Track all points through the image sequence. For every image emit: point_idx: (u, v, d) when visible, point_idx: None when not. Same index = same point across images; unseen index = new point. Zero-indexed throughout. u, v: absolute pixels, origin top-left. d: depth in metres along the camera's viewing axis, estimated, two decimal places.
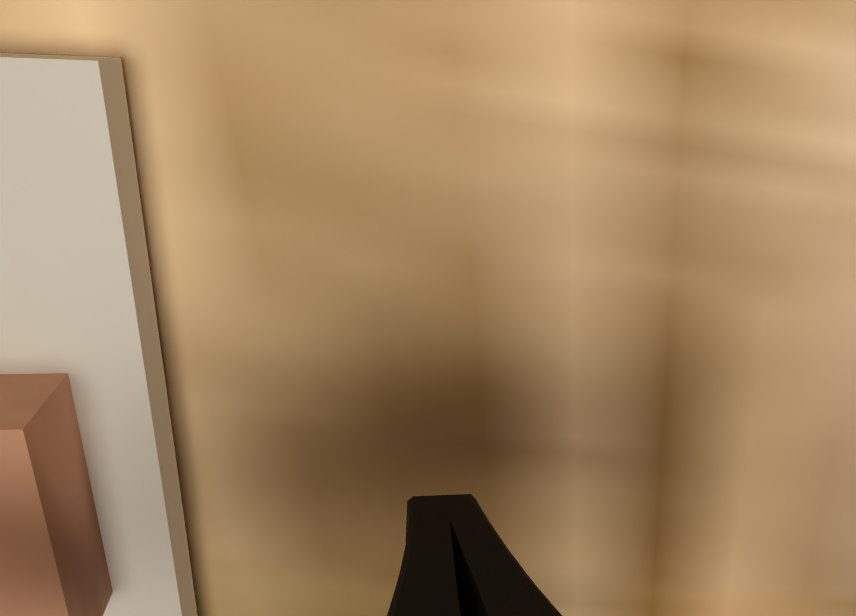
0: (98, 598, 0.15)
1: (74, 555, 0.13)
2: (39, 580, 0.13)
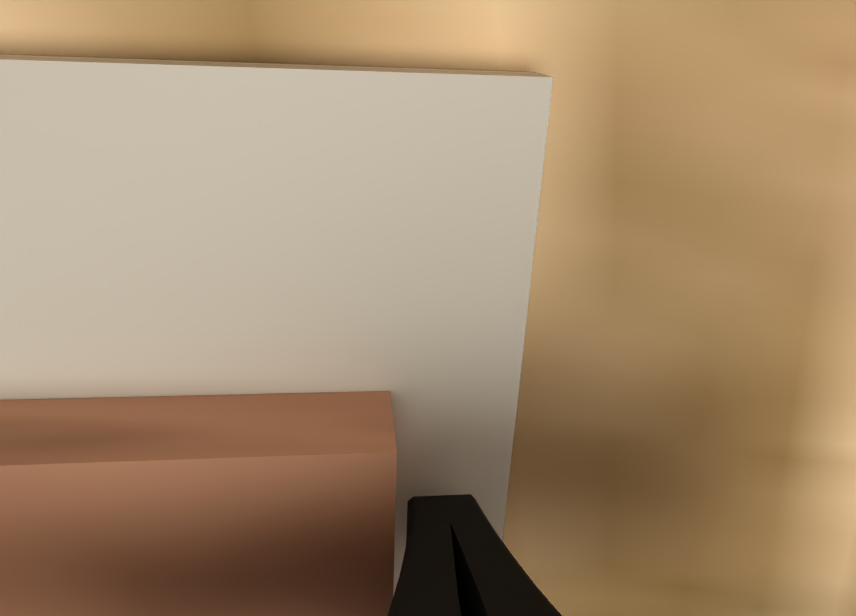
0: None
1: None
2: (374, 602, 0.12)
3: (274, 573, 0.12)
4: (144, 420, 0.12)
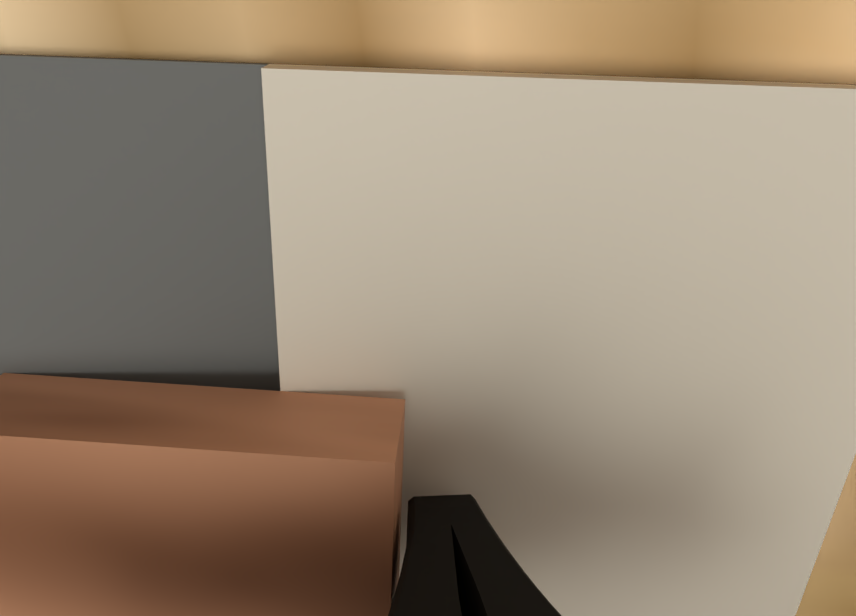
0: None
1: (393, 588, 0.13)
2: (371, 613, 0.12)
3: (273, 571, 0.12)
4: (161, 406, 0.12)
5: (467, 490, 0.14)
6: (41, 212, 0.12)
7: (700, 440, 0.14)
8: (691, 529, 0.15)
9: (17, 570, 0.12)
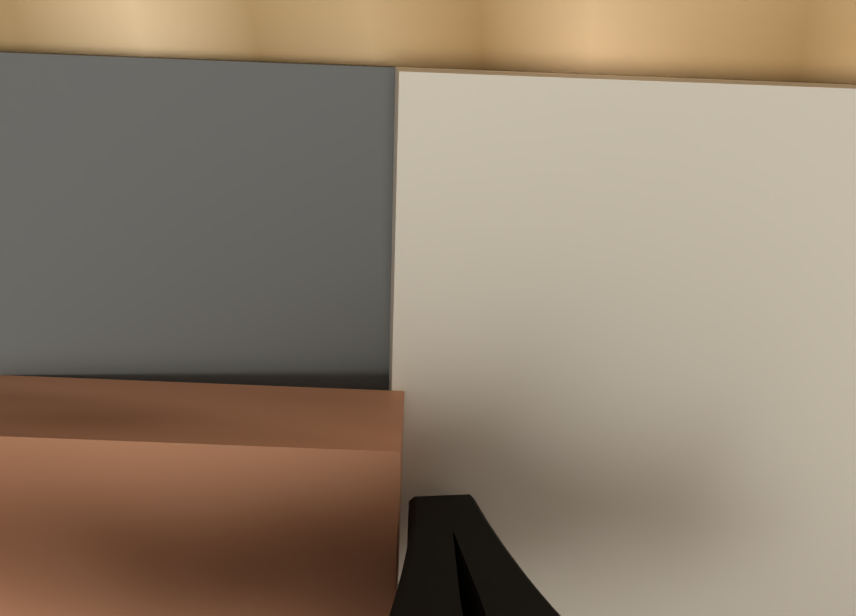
0: None
1: None
2: (376, 600, 0.12)
3: (279, 562, 0.12)
4: (164, 403, 0.12)
5: (563, 486, 0.14)
6: (167, 212, 0.12)
7: (791, 437, 0.15)
8: (776, 525, 0.16)
9: (21, 571, 0.12)
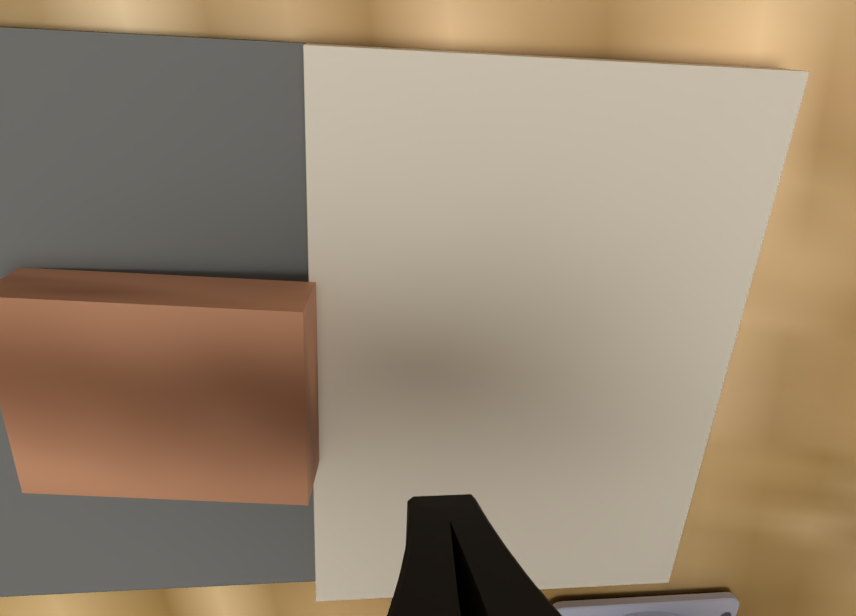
0: (315, 460, 0.19)
1: (310, 419, 0.18)
2: (292, 430, 0.17)
3: (221, 399, 0.17)
4: (139, 284, 0.17)
5: (443, 363, 0.19)
6: (143, 145, 0.17)
7: (616, 329, 0.19)
8: (613, 401, 0.20)
9: (34, 405, 0.17)
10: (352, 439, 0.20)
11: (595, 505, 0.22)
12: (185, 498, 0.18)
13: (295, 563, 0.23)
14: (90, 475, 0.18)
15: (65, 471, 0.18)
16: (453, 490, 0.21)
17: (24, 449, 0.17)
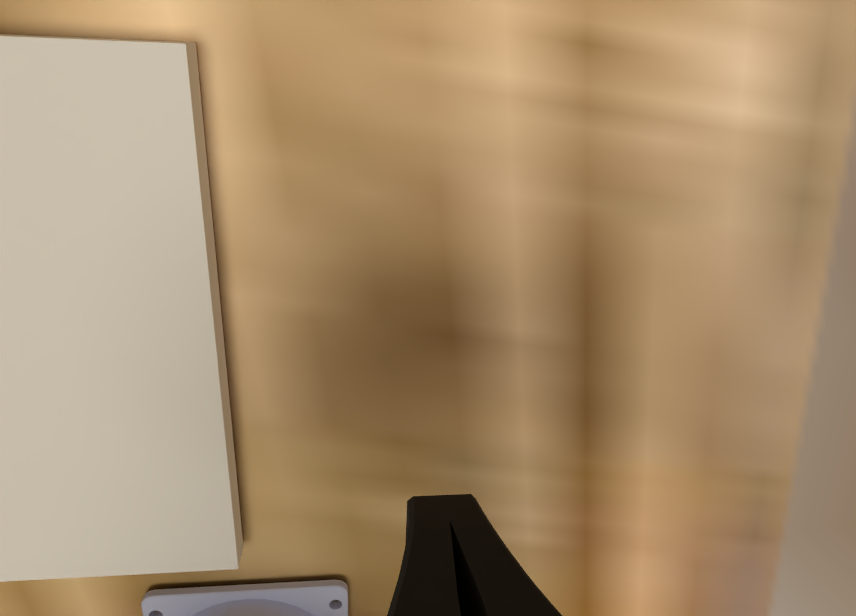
0: None
1: None
2: None
3: None
4: None
5: None
6: None
7: (75, 309, 0.19)
8: (101, 384, 0.20)
9: None
10: None
11: (124, 490, 0.22)
12: None
13: None
14: None
15: None
16: None
17: None
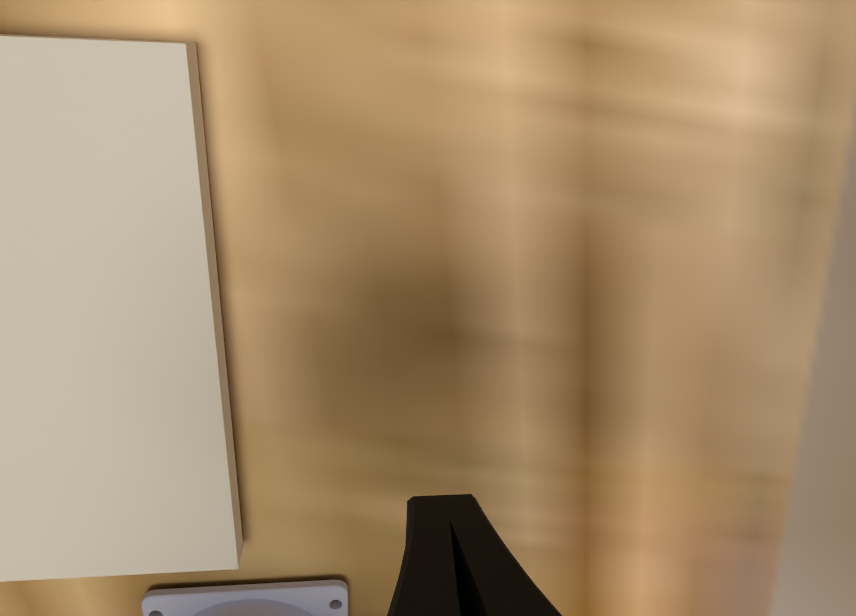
0: None
1: None
2: None
3: None
4: None
5: None
6: None
7: (75, 309, 0.19)
8: (101, 384, 0.20)
9: None
10: None
11: (124, 490, 0.22)
12: None
13: None
14: None
15: None
16: None
17: None
